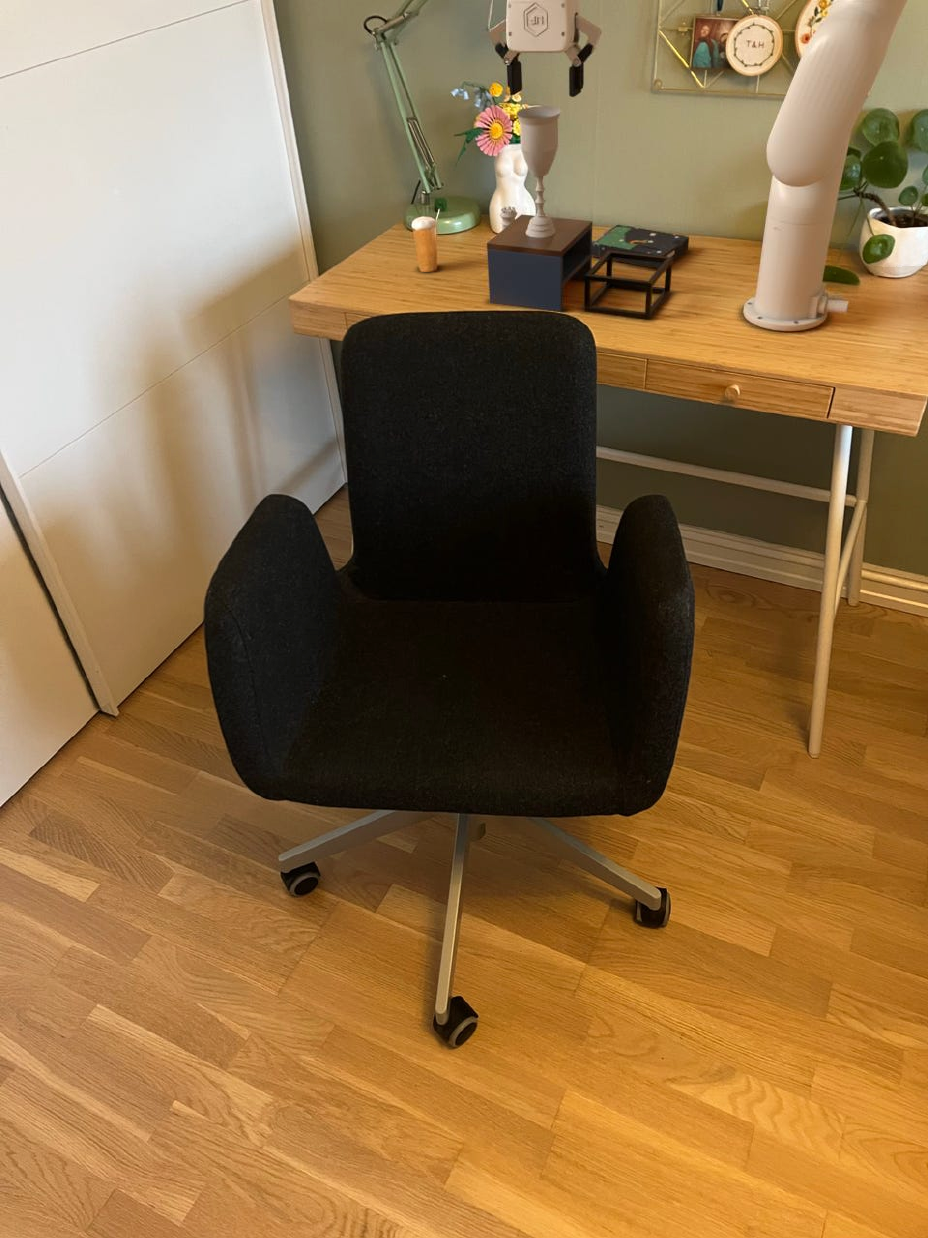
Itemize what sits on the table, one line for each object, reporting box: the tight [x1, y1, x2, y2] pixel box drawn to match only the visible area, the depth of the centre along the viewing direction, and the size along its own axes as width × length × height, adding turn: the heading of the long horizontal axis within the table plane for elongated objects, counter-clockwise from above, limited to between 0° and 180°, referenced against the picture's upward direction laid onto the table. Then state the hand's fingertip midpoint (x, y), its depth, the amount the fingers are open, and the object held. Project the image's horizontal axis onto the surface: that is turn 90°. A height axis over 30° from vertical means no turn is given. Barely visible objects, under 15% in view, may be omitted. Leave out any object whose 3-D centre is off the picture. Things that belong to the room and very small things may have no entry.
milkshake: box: [411, 209, 441, 273], centre depth 173 cm, size 4×5×10 cm
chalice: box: [516, 105, 562, 238], centre depth 153 cm, size 7×7×18 cm
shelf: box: [486, 214, 593, 313], centre depth 162 cm, size 13×14×10 cm
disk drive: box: [592, 224, 690, 269], centre depth 174 cm, size 10×3×15 cm
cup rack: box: [583, 251, 674, 320], centre depth 157 cm, size 11×11×6 cm
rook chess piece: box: [499, 205, 518, 231], centre depth 177 cm, size 4×4×8 cm
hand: (545, 93), depth 145 cm, fingers open, 9 cm apart
